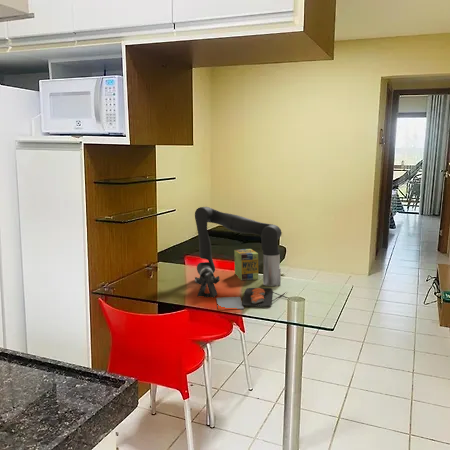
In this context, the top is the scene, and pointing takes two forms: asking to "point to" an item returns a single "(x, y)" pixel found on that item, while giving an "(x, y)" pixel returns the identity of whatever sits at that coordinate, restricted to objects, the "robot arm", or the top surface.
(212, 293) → the phone stand
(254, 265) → the protein box
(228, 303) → the mat
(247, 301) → the sushi plate
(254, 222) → the robot arm
